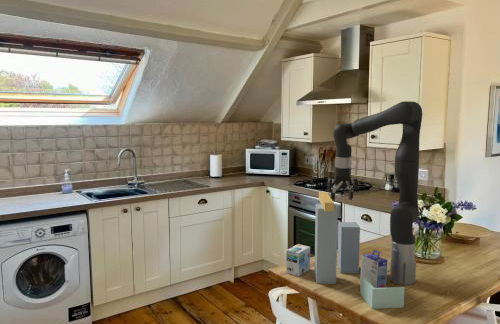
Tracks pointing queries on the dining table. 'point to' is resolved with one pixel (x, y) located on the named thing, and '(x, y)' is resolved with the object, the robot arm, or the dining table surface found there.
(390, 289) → the l-shaped corner panel
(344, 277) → the dining table surface
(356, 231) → the low post
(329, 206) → the rail
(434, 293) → the dining table surface
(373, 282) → the ink cartridge box
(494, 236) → the dining table surface
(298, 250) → the light bulb box
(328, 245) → the tall post
